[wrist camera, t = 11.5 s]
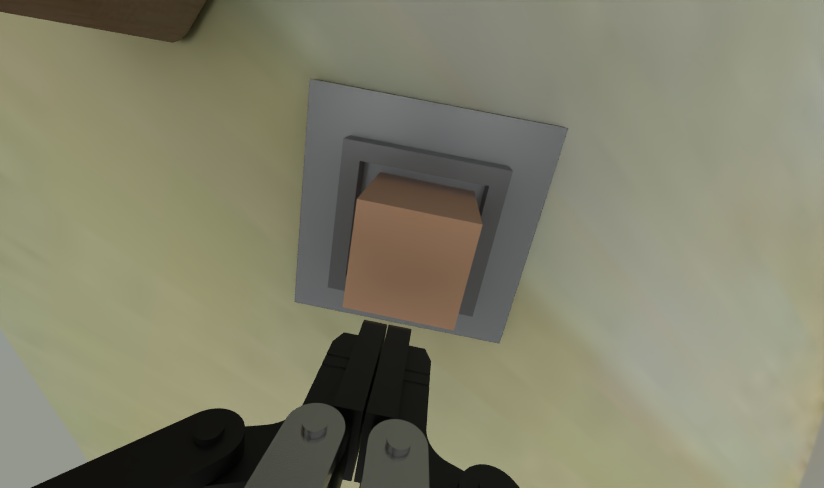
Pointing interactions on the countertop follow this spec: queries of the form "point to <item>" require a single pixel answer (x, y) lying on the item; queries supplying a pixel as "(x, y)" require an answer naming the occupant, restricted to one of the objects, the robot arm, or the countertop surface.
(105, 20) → the wooden block
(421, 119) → the socket board
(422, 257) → the brick
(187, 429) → the robot arm
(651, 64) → the countertop surface
